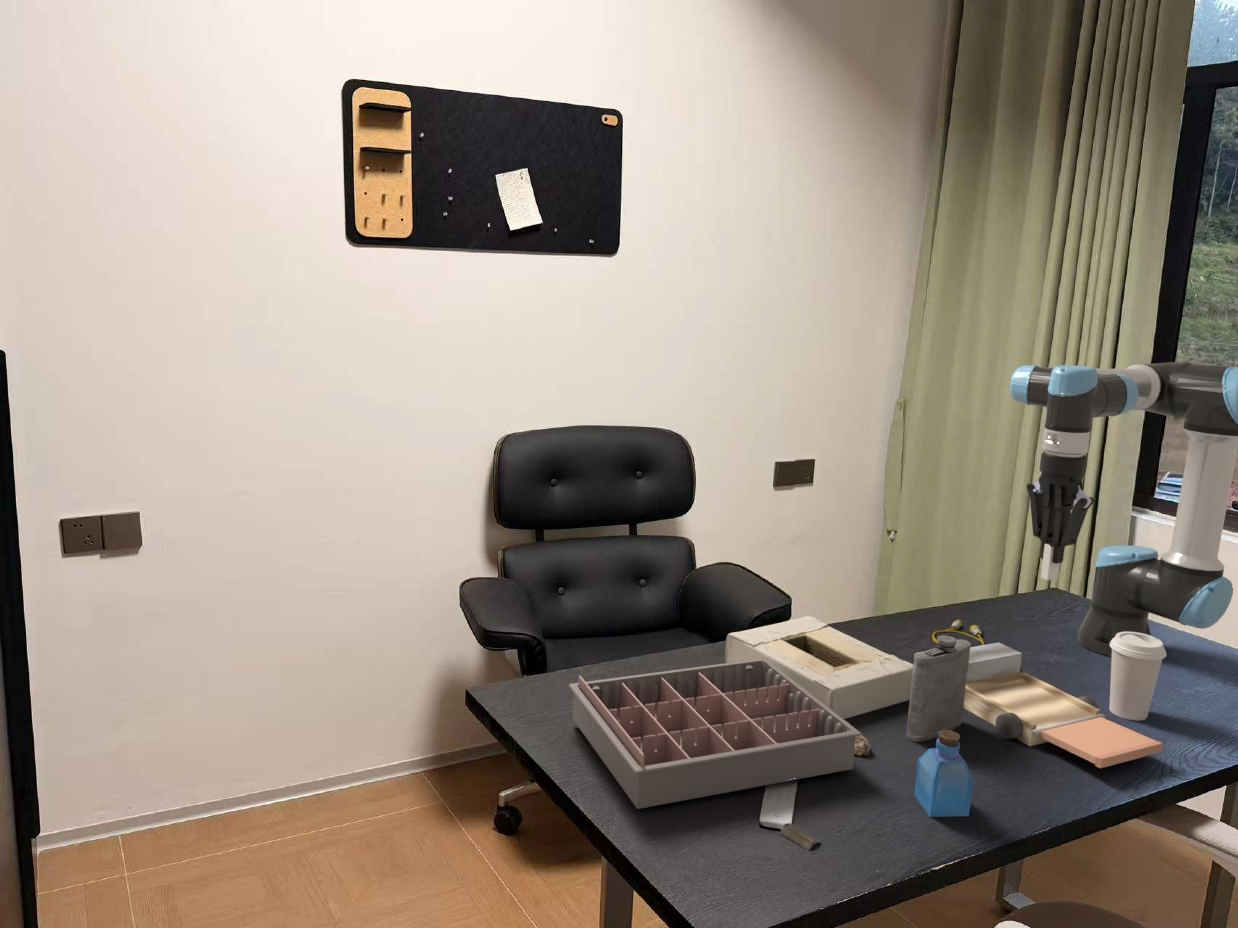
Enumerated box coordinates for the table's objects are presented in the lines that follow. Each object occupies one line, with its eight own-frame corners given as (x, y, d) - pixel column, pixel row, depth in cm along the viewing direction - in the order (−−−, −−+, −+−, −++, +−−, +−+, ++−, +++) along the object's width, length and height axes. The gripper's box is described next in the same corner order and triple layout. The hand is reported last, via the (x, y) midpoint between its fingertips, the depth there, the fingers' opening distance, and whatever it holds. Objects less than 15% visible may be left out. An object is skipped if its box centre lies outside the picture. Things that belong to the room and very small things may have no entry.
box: (918, 700, 190) (805, 643, 217) (922, 664, 189) (807, 610, 215) (831, 729, 178) (723, 665, 204) (835, 690, 176) (724, 630, 203)
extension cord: (1005, 642, 221) (1006, 634, 221) (963, 657, 212) (964, 648, 212) (958, 625, 231) (959, 617, 231) (917, 638, 222) (917, 630, 221)
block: (807, 859, 140) (808, 848, 139) (775, 837, 144) (776, 827, 143) (823, 847, 142) (824, 837, 141) (791, 826, 146) (792, 816, 146)
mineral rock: (804, 725, 173) (837, 704, 176) (807, 745, 174) (839, 724, 178) (849, 753, 164) (882, 731, 168) (851, 774, 166) (884, 751, 169)
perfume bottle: (914, 794, 155) (921, 725, 153) (952, 794, 156) (959, 725, 153) (930, 816, 149) (937, 744, 147) (968, 816, 150) (977, 744, 147)
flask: (968, 724, 180) (979, 633, 176) (919, 745, 171) (929, 649, 168) (951, 717, 183) (961, 626, 179) (902, 736, 174) (912, 642, 170)
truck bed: (926, 692, 193) (930, 654, 191) (1005, 676, 201) (1010, 640, 200) (1020, 748, 171) (1026, 706, 170) (1105, 727, 180) (1111, 687, 179)
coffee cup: (1163, 727, 181) (1175, 651, 178) (1108, 720, 183) (1119, 646, 180) (1146, 704, 190) (1158, 632, 187) (1094, 699, 192) (1104, 627, 189)
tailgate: (1032, 728, 171) (1096, 759, 160) (1101, 712, 179) (1167, 741, 167) (1031, 738, 172) (1095, 769, 160) (1100, 721, 179) (1166, 750, 167)
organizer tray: (858, 778, 160) (863, 722, 158) (633, 820, 146) (636, 760, 144) (762, 696, 189) (765, 648, 187) (567, 725, 175) (568, 673, 173)
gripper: (1020, 447, 178) (1006, 570, 183) (1080, 461, 167) (1064, 592, 172) (1049, 444, 181) (1035, 565, 186) (1110, 458, 170) (1093, 586, 175)
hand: (1049, 578), depth 179 cm, fingers closed
